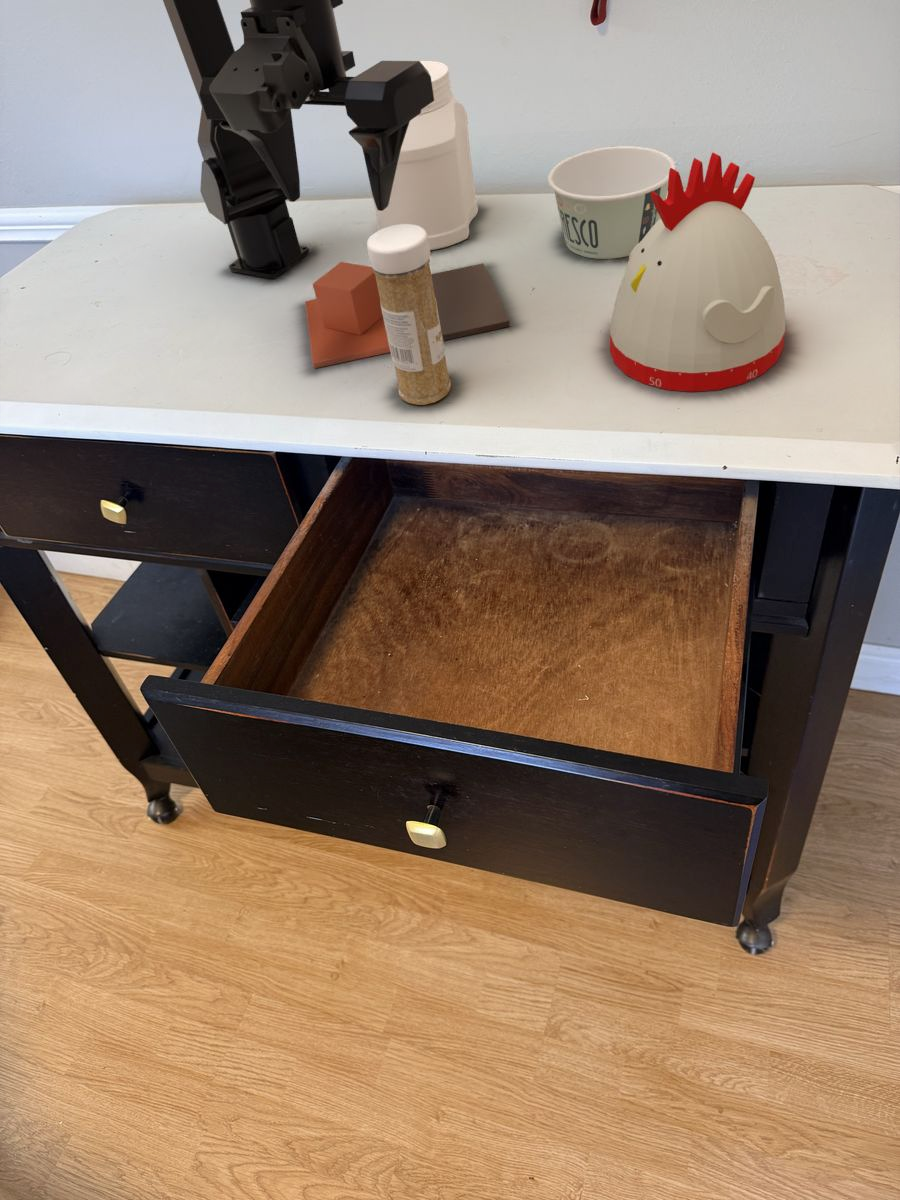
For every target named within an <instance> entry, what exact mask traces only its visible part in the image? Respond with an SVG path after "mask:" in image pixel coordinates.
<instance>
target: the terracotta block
mask: <svg viewBox="0 0 900 1200" xmlns="http://www.w3.org/2000/svg"><path fill="white" fill-rule="evenodd" d="M312 288H313V291H314V294H315V299H317V303H318V307H319V310H320V314H321V318H322V322H323V326H324V327H325V328H329V329H334V330H339V331H343V332H348V333H353V334H357V335H362V334H363V333H364V332H365V331H366V330H367V329H369V328H370V327H371V326H372V325H373V324H374V323H376V322H377V321H378V320H379V319H380V318H381V317H383V314H382V309H381V305H380V302H381V301H380V296H379V291H378V286H377V281H376V276H375V274H374V271H373V268H372V267H371V265H370V266H369V265H363V264H357V263H351V262H345V261H340V262H339V263H337V264H336V265H335V266H334V267H332V268H331V269H330V270H328V271H327V272H326V273H324V274H323V275H322V276H320V277H319V278H317V280H315V281H314V282H313V283H312Z"/></svg>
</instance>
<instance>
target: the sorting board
mask: <svg viewBox="0 0 900 1200" xmlns="http://www.w3.org/2000/svg"><path fill="white" fill-rule="evenodd" d="M431 276H432V281H433V289H434V295H435V298H436V302H437V308H438V314H439V320H440V326H441V332H442V337H443V342H444V341H448V340H452V339H458V338H462V337H467V336H472V335H476V334H480V333H485V332H490V331H494V330H500V329H504V328H508V327H511V321H510V319H509V317H508V315H507V312H506V310H505V308H504V306H503V303H502V301H501V299H500V297H499V295H498V292H497V291H496V287H495V286H494V284H493V281H492V279H491V277H490V275H489V273H488V271H487V268H486V266H485V264H484V263H483V262H482V263H478V264H477V263H476V264H473V265H468V266H464V267H459V268H454V269H450V270H445V271H440V272H436V273H431ZM304 303H305V304H304V305H305V310H306V320H307V329H308V335H309V336H308V337H309V343H310V351H311V360H312V365H313V366H312V367H313V368H314V369H318V368H324V367H329V366H331V365H337V364H341V363H346V362H350V361H357V360H360V359H365V358H369V357H374V356H379V355H383V354H388V353H391V352H390V347H389V342H388V338H387V333H386V328H385V324H384V319H383V317H381V318H380V319H379V320H378V321H377V322H376V323H374V324H373V325H372V326H371V327H370V328H369V329H367V330H366V331H365V332H364V333H363V334H362V335H357V334H353V333H348V332H343V331H339V330H334V329H329V328H325V327H324V326H323V322H322V318H321V314H320V310H319V307H318V303H317V299H316V298H314V299H309V300H305V301H304Z"/></svg>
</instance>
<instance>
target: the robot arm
mask: <svg viewBox="0 0 900 1200" xmlns="http://www.w3.org/2000/svg"><path fill="white" fill-rule="evenodd" d="M162 2H163V4H164V5H163V6H164V8H165V10H166V13H167V15H168V18H169V21H170V23H171V27H172V29H173V31H174V35H175V37H176V40H177V42H178V45H179V48H180V51H181V54H182V56H183V59H184V61H185V64H186V67H187V69H188V72H189V75H190V77H191V80H192V83H193V86H194V88H195V92H196V95H197V96H198V99H199V102H200V105H201V112H200V118H199V125H198V134H197V145H198V148H199V151H200V155H201V156H202V161H201V171H200V172H201V173H200V188H199V189H200V191H199V192H200V194H201V197H202V199H203V201H204V204H205V206H206V208H207V211H208V213H209V214H210V215H212V216H213V217H214V218H216V219H217V220H219V221H220V222H221V223H223V224H224V225H226V226H227V229H228V232H229V235H230V238H231V241H232V244H233V248H234V250H235V253H236V257H237V259H236V260H235V261H233V262H231V263H230V264H229V265H228V268H229V271H230V272H234V273H240V274H244V275H245V274H246V275H249V276H256V277H261V278H266V279H274V278H277V277H278V276H280V275H281V274H282V273H283V272H285V271H286V270H288V269H289V268H290V267H292V266H293V265H294V264H296V263H297V262H299V261H300V260H301V259H302V258H304V257H305V256H307V255H308V254H309V253H310V252H311V250H310V247H308V246H306V245H300V243H299V238H298V234H297V231H296V227H295V224H294V220H293V217H292V216H290V213H289V208H288V205H287V201H289V202H290V203H294V202H296V201H297V200H299V199H300V198H301V184H300V183H301V182H300V170H299V163H298V156H297V155H298V154H297V147H296V140H295V139H296V138H295V132H294V123H293V116H292V110H300V109H301V108H302V107H303V105H308V106H310V105H313V106H335V107H337V106H338V107H345V111H346V116H347V117H348V118H349V119H350V120H351V121H352V122H353V123H354V124H355V127H353V128H352V129H350V130H349V131H348V135H350V137H351V138H352V139H353V140H355V141H356V142H357V143H358V144H359V145H360V147H361V149H362V153H364V154H363V157H364V162H365V167H366V172H367V176H368V181H369V185H370V191H371V195H373V196H372V199H373V198H374V201H375V204H376V207H377V210H379V211H383V210H384V209H385V208H387V207H388V205H389V200H390V196H391V191H392V186H393V182H394V177H395V173H396V168H397V164H398V159H399V155H400V151H401V147H402V144H403V141H404V138H405V135H406V132H407V129H408V125H409V122H410V120H412V119H413V118H415V117H416V116H418V115H419V114H420V113H421V109H423V108H424V107H426V106H427V105H429V104H430V103H432V102H433V101H434V95H433V88H432V81H431V76H430V74H429V72H428V70H427V69H426V68H425V67H424V66H423V65H422V63H421V62H420V61H421V60H381V61H379V62H377V63H376V64H374V65H372V66H371V67H369V68H366V70H364V71H362V72H360V73H359V74H357V75H355V76H347V73H346V72H347V71H350V70H351V69H353V68H354V67H356V61H355V56H354V51H353V50H342V47H341V46H342V44H341V41H340V37H339V32H338V31H339V30H338V27H337V26H338V25H337V21H336V17H335V12H334V9H335V8H337V7H339V6H341V5H343V4H344V0H249V2H250V7H249V8H247V9H244V10H242V11H240V17H241V20H240V27H241V31H242V34H243V43H242V45H240V47H239V48H238V49H236V50H235V47H234V45H233V41H232V38H231V35H230V32H229V30H228V29H229V28H228V27H227V24H226V21H225V17H224V15H223V12H222V9H221V7H220V3H219V0H162ZM325 90H328V91H325ZM374 201H373V202H374Z"/></svg>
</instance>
